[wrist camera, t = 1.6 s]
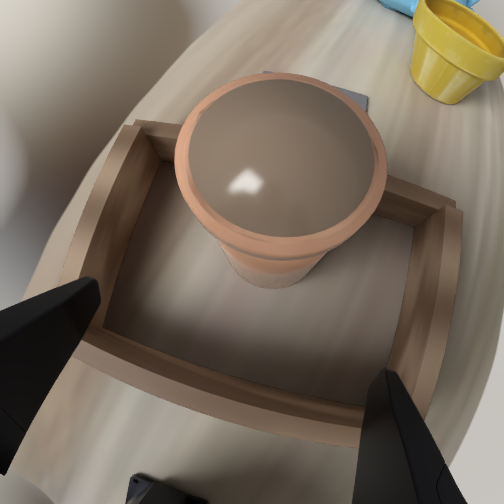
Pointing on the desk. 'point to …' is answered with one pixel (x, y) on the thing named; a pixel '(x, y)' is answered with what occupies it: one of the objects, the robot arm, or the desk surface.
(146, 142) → the frame
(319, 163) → the terracotta pot
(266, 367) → the desk surface
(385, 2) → the decorative pot
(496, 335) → the desk surface
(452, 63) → the plant pot
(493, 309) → the desk surface
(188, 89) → the desk surface
